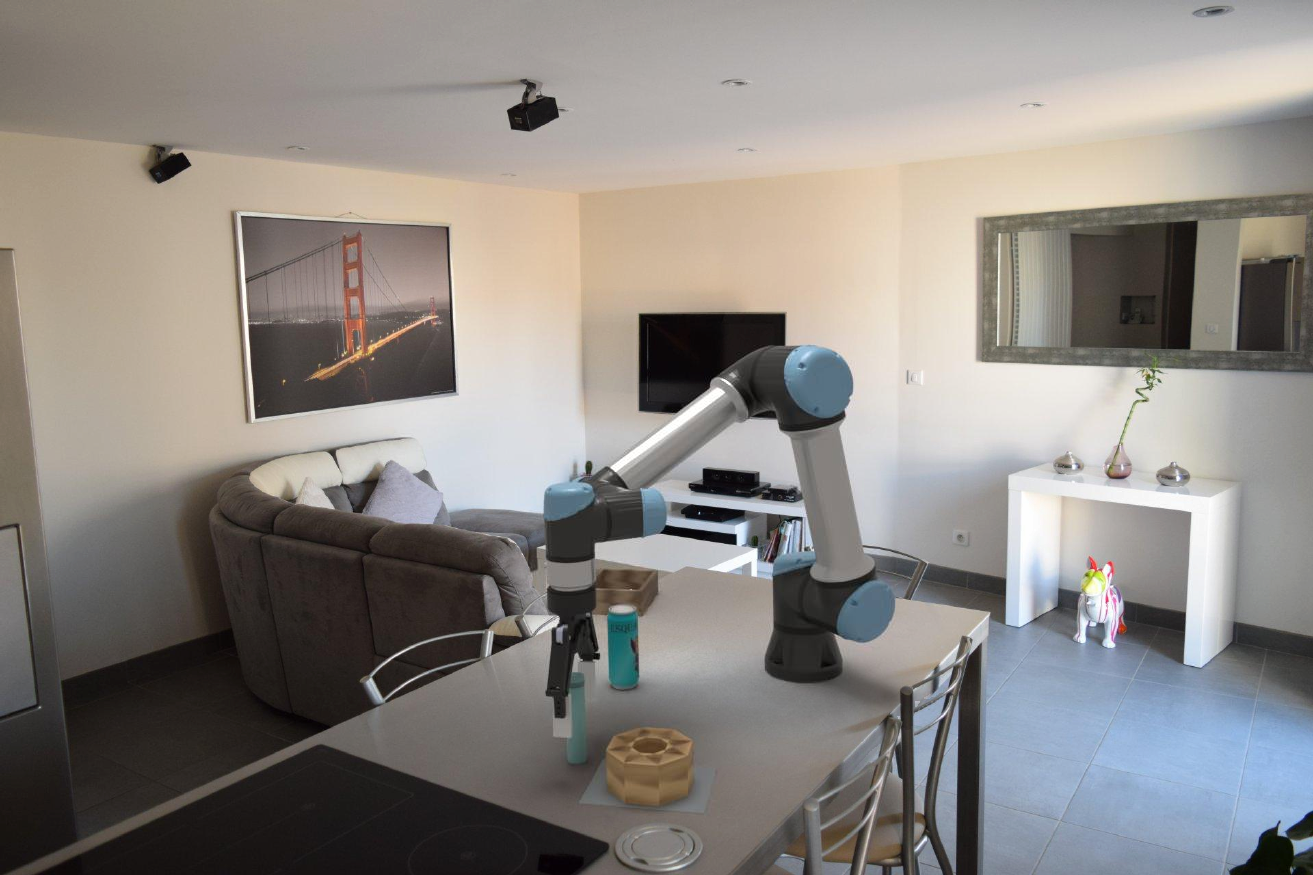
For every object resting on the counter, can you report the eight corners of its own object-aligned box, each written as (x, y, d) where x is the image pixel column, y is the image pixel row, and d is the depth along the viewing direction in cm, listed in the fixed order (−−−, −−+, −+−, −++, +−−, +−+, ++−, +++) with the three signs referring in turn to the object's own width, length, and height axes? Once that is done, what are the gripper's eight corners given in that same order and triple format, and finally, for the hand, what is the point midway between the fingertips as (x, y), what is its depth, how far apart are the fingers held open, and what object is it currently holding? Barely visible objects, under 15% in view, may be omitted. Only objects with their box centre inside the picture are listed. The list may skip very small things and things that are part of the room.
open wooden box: (658, 593, 237) (657, 570, 236) (642, 616, 218) (641, 591, 218) (601, 591, 240) (600, 568, 239) (580, 613, 221) (579, 589, 221)
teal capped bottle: (589, 758, 147) (586, 672, 145) (584, 767, 144) (581, 679, 142) (570, 756, 148) (567, 671, 146) (564, 765, 145) (561, 678, 143)
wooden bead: (697, 768, 142) (696, 730, 141) (684, 808, 130) (683, 767, 130) (620, 762, 144) (619, 725, 144) (600, 801, 133) (599, 761, 132)
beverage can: (635, 691, 173) (633, 613, 171) (605, 690, 174) (603, 612, 173) (642, 680, 179) (640, 604, 177) (613, 678, 180) (611, 603, 178)
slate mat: (717, 768, 142) (717, 766, 142) (704, 816, 129) (704, 813, 129) (603, 760, 146) (603, 758, 146) (578, 805, 132) (578, 803, 132)
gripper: (571, 563, 155) (575, 685, 158) (520, 607, 131) (526, 751, 134) (614, 564, 154) (618, 688, 156) (571, 609, 130) (576, 755, 132)
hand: (575, 717), depth 145 cm, fingers open, 13 cm apart
